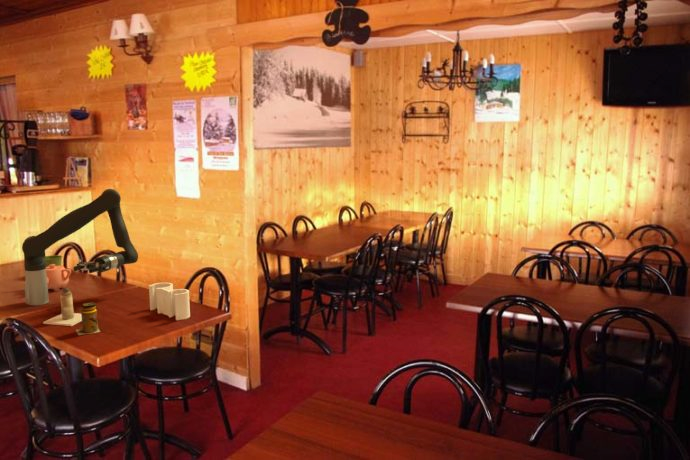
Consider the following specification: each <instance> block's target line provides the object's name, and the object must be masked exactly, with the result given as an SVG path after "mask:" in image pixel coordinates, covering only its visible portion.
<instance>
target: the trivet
mask: <svg viewBox="0 0 690 460" xmlns="http://www.w3.org/2000/svg"><path fill="white" fill-rule="evenodd" d="M80 322H81V323H82V315H81V312H79V313H78V312H77V313H76V312H74V318H73V319H69V320H63V319H62V313H60V314H58V315H55V316H53V317H50V319H47V320H45V321H43V323H42V324H43V325H54V326H55V325H56V326H67V327H68V326H69V327H73V326H75V325H77V324H79V323H80Z"/></svg>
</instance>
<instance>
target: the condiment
mask: <svg viewBox="0 0 690 460" xmlns="http://www.w3.org/2000/svg"><path fill="white" fill-rule="evenodd" d="M80 314H81V315H82V321H81V327H82V328H79V329H75V331H76V334H77V335H78V336H83V335H88V334H90V335H91V334H95V333H101V330H100V328H99V326H98V310H97V309H96V302H85V303H82V304H81V312H80Z"/></svg>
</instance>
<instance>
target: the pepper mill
mask: <svg viewBox="0 0 690 460" xmlns="http://www.w3.org/2000/svg"><path fill="white" fill-rule="evenodd" d="M59 298H60V299H59V300H60V309H61V314H62V319H63V320H69V319H73V318H74V313H75V311H74V302H73V300H74V299H73V293H72V291H71V290H70V289H69V288H68V287H66V288H62V291H61V292H60V294H59Z"/></svg>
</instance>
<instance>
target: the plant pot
mask: <svg viewBox="0 0 690 460" xmlns="http://www.w3.org/2000/svg"><path fill="white" fill-rule="evenodd" d="M45 257H46V267H48V266H49V265H51V264H55V266H62V260H63V259H62V258H63V255H58V254H57V255H55V254H54V255H45Z"/></svg>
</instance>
